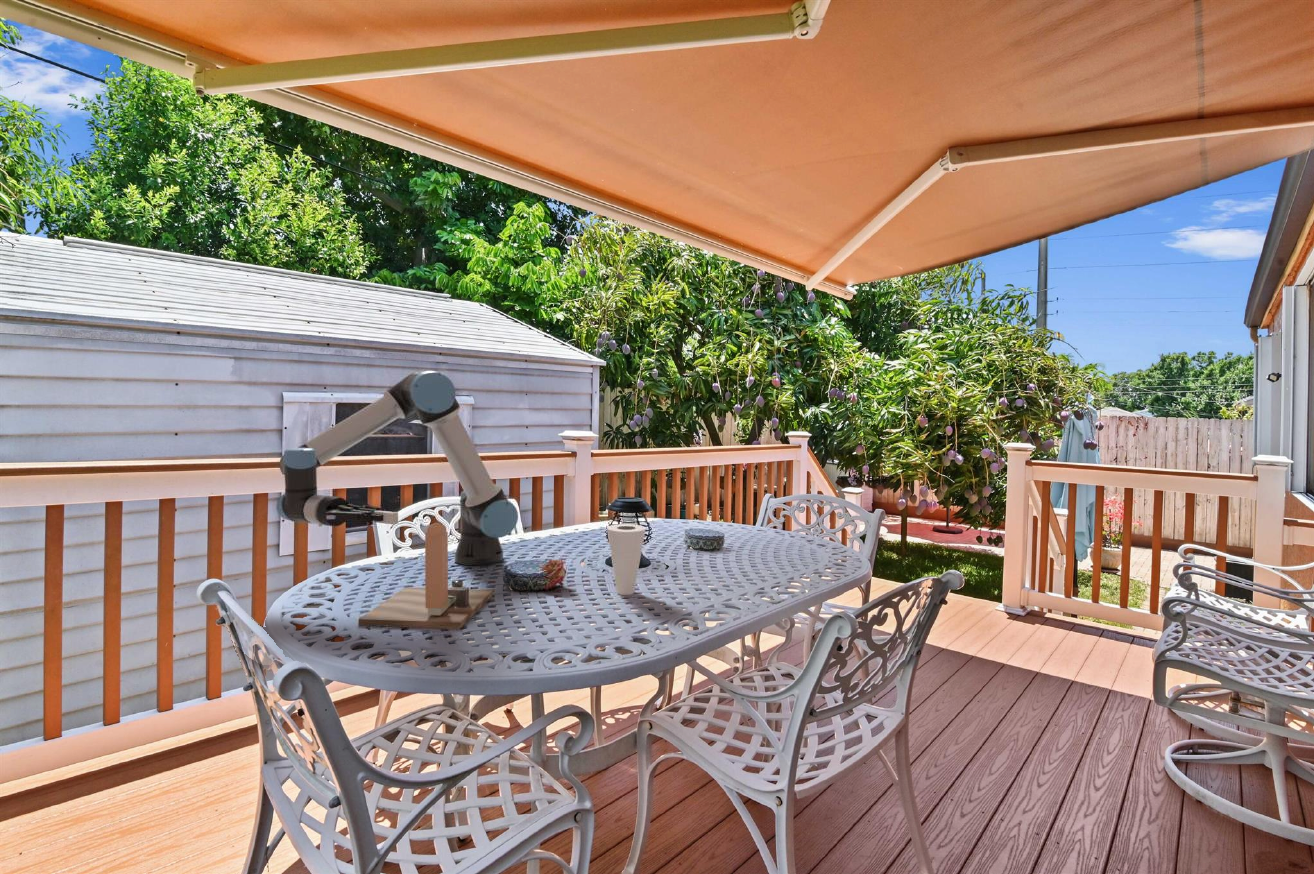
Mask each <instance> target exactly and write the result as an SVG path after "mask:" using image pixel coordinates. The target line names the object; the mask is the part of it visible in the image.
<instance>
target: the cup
mask: <svg viewBox="0 0 1314 874" xmlns="http://www.w3.org/2000/svg"><path fill="white" fill-rule="evenodd" d="M646 528H647V527H645V526H643V525H640V524H633V523H632V524H631V523H628V524H627V523H621V524H612V525H608V526H607V527H606V530H607V531H606V532H607V537H608V538H607V539H608V545H609V548H610V555H611V563H612V564H611V565H612V570H613V576H614V577H613V578H614V583H615V589H616V594H618V595H621V596H630V595H634V594H635V592H636V591H635V588H636V584H637V579H638V571H639V569H640V568H639V566H640V562H641V557H642V552H643V551H642V550H643V546H644V539H645V536H646V535H645V534H646V530H647V529H646Z"/></svg>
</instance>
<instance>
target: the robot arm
mask: <svg viewBox="0 0 1314 874" xmlns="http://www.w3.org/2000/svg"><path fill="white" fill-rule="evenodd" d="M460 408H461V406H460V404H459V402H458V400H457V397H456V388H455V385H454V383H453V381H452V380H451V379H450V378H449V377H448V376H447V375H445V374H444V373H442V372H439V371H436V370H424V371H416V372H412V373H410V374H408V375H407V376H405V377H404V378H403V379H401V380H400V381H399V382H397V383H396V384H394V385H393V386H391V387H390V388H388V389H386V390H385V391H384V392H383V396H382V397H380V398H379V399H377V400H375V401H374V402H372V403H370V404H369V405H367V406H365V407H364V408H362V409H360V410H358V411H357V412H355V413H353V414H352V415H350V416H349V417H346V418H345V419H343V420H342V421H340V422H338V423H336V424H335V425H333V426H332V427H330V428H328V429H327V430H325V431H323V432H321V433H320V434H318V435H317V436H315V437H313V438H311V439H310V440H308V441H307V442H305V443H304V444H302V445H300V446H298V447H292V448H291V447H290V448H288V449H285V450H284V453H283V455H282V456H281V457H280V460H279V462H278V463H279V469H280V473H282V475H284V486H285V487H284V490H285V491H284V494H282V495H281V496H280V497H279V499H278V501H277V504H276V511H277V513H278V515H279V517H281V519H284V520H285V521H290V522H293V523H294V522H295V523H303V524H304V523H306V524H307V523H308V524H315V525H318V527H323V526H329V527H339V526H342V525H343V524H345V523H346V524H347V523H348V524H349V523H350V524H363V525H364V524H365V523H368V524H367V525H368V526H373V525H374V523H379V524H387V525H392V526H393V525H397V524H399V512H396V511H386V509H385V508H383V507H381V506H379V507H378V506H373V505H370V504H367V503H366V504H364V505H355V504H353V503H349V502H348V501H347V499H345V498H344V497H342V496H341V497H340V496H331V495H326V494H325V495H322V494H318V486H317V485H318V484H317V483H318V481H317V475H318V474H317V473H318V472H317V469H318V468H319V467H321V466H322V465H324V464H326V463H328V462H329V461H331V460H332V459H334V458H336V457H337V456H339V455H341V454H342V453H343V452H345V451H347V450H349V449H350V448H352V447H353V446H355V445H357V444H358V443H360V442H362V441H363V440H365V439H367V438H369V437H370V436H371V435H373V434H375V433H376V432H378V431H380V430H381V429H383V428H384V427H386V426H388V425H389V424H391V423H392V422H395V420H397V419H405V418H407V417H409V416H411V415H413V414H415V413H416V415H417V416H418V418H419V420H420V422H421V424H422V425H423V426H426V427H429V428H430V429H431V432H432V433H433V435H434V437H435V438H436V439H435V440H437V442H438V445H439V446H440V448H441V449H442V451H443V453H444V456H445V457H446V459H447V461H448V463H449V465H450V467H451V468H452V471H453V473H454V475H455V477H456V479H457V480H458V483H459V484H460V486H461V487H462V490H463V491H462V492H461V493H460V499H459V504H460V506H459V507H460V538H459V541H458V543H457V546H456V550H455V553H454V562H455V563H456V564H459V565H464V566H484V565H485V566H486V565H492V564H497V563H499V562H501V561H503V560H504V551H503V548H502V545H501V542H500V539H501V538H504V537H506V536H508V535H509V534H511V533H512V531H514V529H515V528H516V526H517V524H518V522H519V521H518V520H519V512H518V508H517V507H516V506H515V505H514V504H513V502H511V501H509V500H508V498H507V496H506V494H505V492H504V491H503V488H502V487H501V485H498V484H496V483H494V482H493V480H492V478H491V476H490V474H489V472H488V471H487V468H486V466H485V464H484V462H483V461H482V459H481V457H480V455H479V453H478V450H477V449H476V446H475V445H474V443H473V441H472V439H471V437H470V435H469V433H468V431H467V429H466V427H465V425H464V423H463V421H462V419H461V418H460V416H459V411H460ZM499 538H500V539H499Z"/></svg>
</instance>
